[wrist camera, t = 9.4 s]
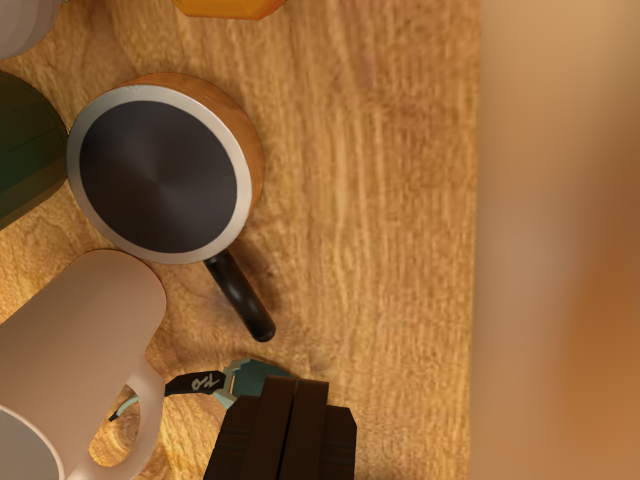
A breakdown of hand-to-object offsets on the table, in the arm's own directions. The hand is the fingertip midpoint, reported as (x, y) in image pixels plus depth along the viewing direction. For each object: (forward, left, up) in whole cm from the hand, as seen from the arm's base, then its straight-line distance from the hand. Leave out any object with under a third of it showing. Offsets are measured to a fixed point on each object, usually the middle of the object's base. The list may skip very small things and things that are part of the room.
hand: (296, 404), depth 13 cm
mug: (+3, -15, -16) cm, 22 cm away
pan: (-1, -8, -16) cm, 18 cm away
